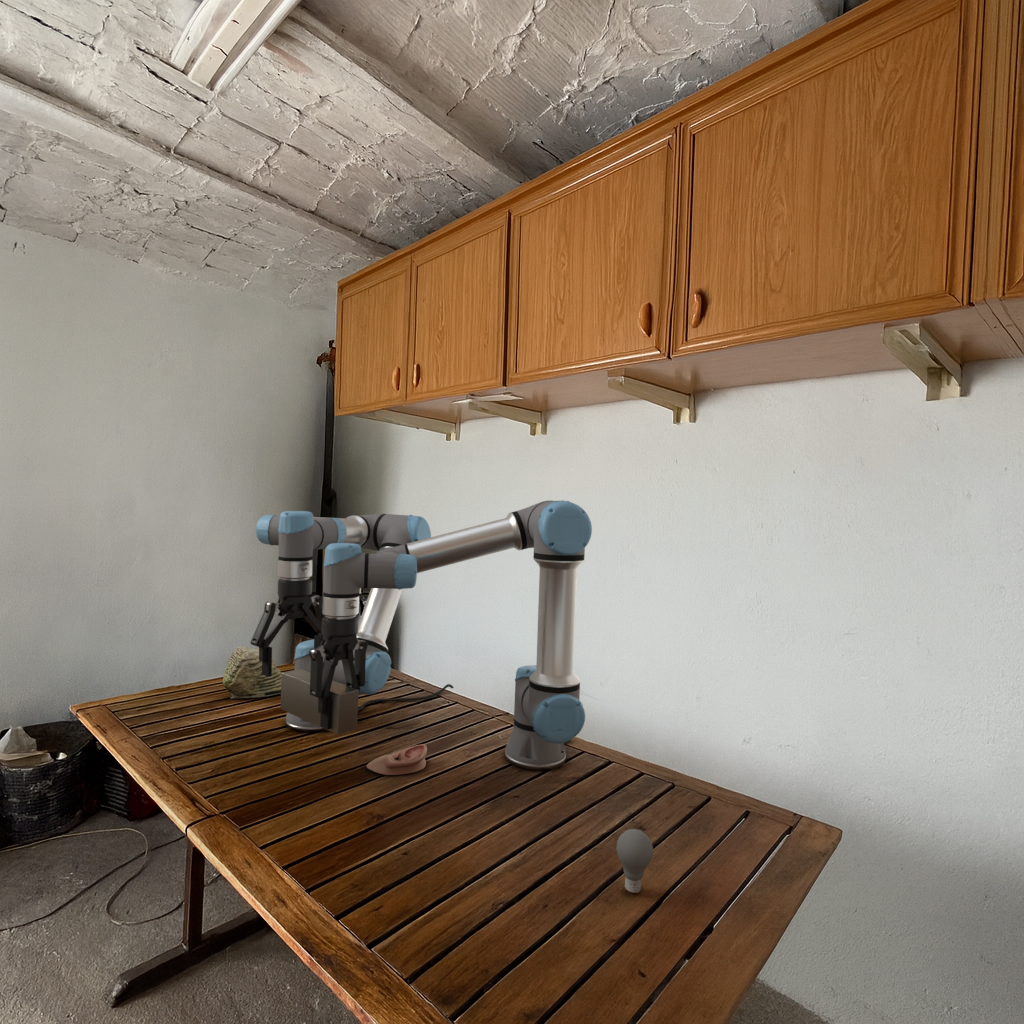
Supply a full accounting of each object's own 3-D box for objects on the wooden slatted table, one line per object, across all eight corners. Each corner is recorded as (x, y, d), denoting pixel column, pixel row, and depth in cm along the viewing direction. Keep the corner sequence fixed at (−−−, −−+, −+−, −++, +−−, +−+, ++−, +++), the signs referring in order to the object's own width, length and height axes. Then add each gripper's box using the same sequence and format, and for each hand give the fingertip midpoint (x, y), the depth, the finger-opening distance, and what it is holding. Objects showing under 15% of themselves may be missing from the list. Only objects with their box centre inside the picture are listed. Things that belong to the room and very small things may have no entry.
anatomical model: (361, 754, 146) (381, 736, 157) (360, 771, 146) (380, 752, 157) (415, 762, 143) (432, 743, 155) (415, 779, 143) (431, 759, 155)
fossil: (218, 695, 195) (220, 647, 195) (278, 685, 208) (279, 640, 207) (228, 703, 189) (230, 653, 188) (289, 692, 201) (290, 645, 201)
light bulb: (610, 879, 108) (613, 822, 108) (644, 879, 109) (647, 822, 109) (619, 902, 102) (622, 840, 102) (655, 901, 103) (658, 840, 103)
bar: (280, 709, 145) (281, 672, 145) (299, 704, 149) (300, 668, 148) (337, 734, 131) (339, 694, 131) (357, 728, 135) (358, 689, 135)
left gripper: (253, 585, 134) (252, 684, 135) (349, 574, 154) (347, 661, 155) (234, 581, 138) (233, 677, 139) (330, 571, 158) (328, 655, 159)
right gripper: (313, 623, 125) (309, 740, 126) (385, 613, 139) (381, 718, 140) (292, 618, 130) (289, 730, 131) (363, 608, 144) (360, 710, 145)
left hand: (293, 669), depth 147 cm, fingers open, 13 cm apart
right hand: (336, 724), depth 135 cm, fingers closed on bar, 5 cm apart
